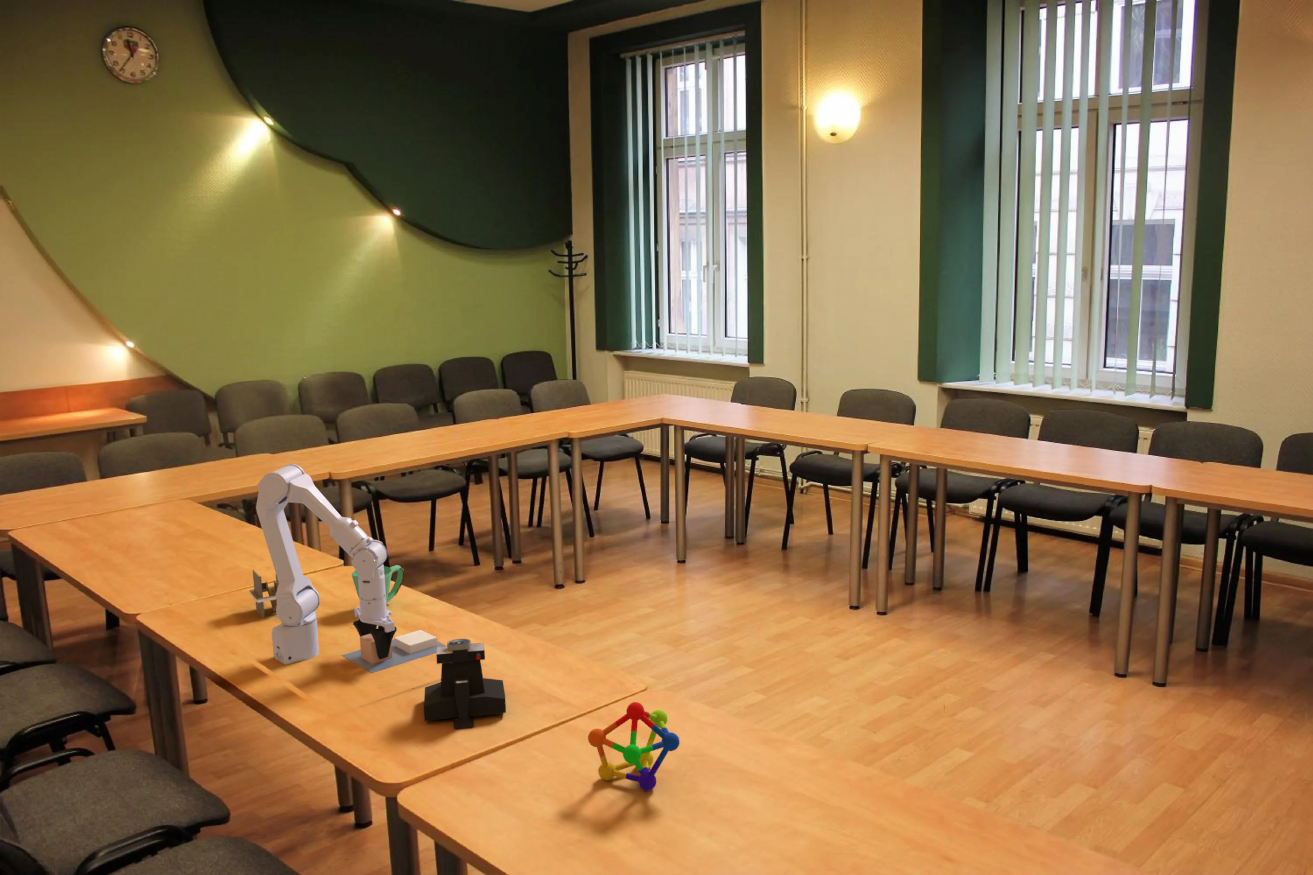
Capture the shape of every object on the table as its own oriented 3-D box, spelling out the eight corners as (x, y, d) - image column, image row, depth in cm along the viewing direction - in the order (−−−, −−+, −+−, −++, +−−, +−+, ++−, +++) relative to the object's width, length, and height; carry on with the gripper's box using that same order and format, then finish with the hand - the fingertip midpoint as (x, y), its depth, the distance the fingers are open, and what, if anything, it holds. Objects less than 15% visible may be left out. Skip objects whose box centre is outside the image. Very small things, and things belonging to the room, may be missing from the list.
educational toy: (638, 815, 181) (630, 734, 177) (588, 788, 190) (578, 711, 186) (702, 774, 191) (695, 696, 187) (651, 750, 200) (644, 676, 196)
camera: (500, 630, 226) (503, 650, 211) (503, 698, 227) (507, 722, 213) (422, 637, 223) (420, 658, 208) (426, 705, 224) (424, 731, 210)
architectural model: (227, 609, 281) (223, 568, 279) (293, 596, 290) (290, 556, 288) (243, 630, 266) (239, 587, 264) (313, 616, 275) (309, 574, 273)
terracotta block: (372, 663, 241) (370, 642, 240) (361, 657, 245) (359, 636, 244) (392, 657, 245) (391, 636, 244) (381, 651, 248) (379, 630, 247)
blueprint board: (372, 676, 237) (371, 664, 236) (341, 658, 247) (340, 646, 246) (451, 651, 250) (450, 639, 249) (419, 635, 260) (418, 624, 259)
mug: (371, 618, 272) (369, 580, 270) (346, 610, 278) (343, 573, 276) (416, 601, 284) (414, 565, 282) (391, 594, 289) (389, 558, 287)
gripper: (405, 599, 239) (409, 657, 242) (372, 584, 250) (376, 640, 253) (376, 607, 235) (380, 666, 237) (344, 591, 245) (348, 648, 248)
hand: (376, 653), depth 245 cm, fingers open, 6 cm apart
